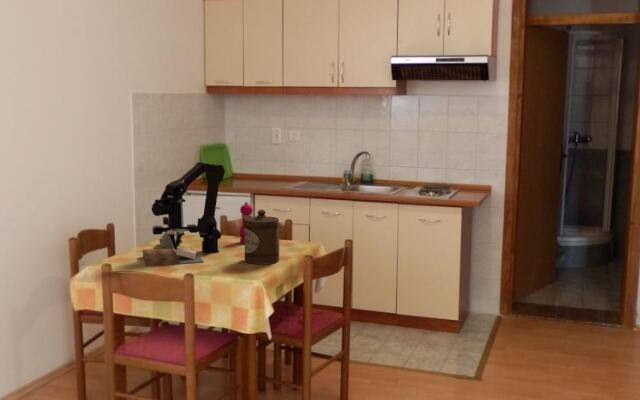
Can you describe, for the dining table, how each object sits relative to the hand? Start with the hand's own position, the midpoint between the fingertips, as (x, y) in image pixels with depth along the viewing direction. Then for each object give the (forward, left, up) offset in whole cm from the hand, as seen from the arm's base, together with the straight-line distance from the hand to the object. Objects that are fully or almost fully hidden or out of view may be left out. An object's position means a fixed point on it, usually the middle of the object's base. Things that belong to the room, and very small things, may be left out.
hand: (175, 249), depth 315 cm
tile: (-4, 0, -3) cm, 5 cm away
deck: (+6, 0, -5) cm, 8 cm away
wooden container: (-35, +12, -5) cm, 37 cm away
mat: (-6, +1, -5) cm, 7 cm away
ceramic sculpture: (-1, -27, -5) cm, 27 cm away
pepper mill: (-37, -27, -5) cm, 46 cm away
